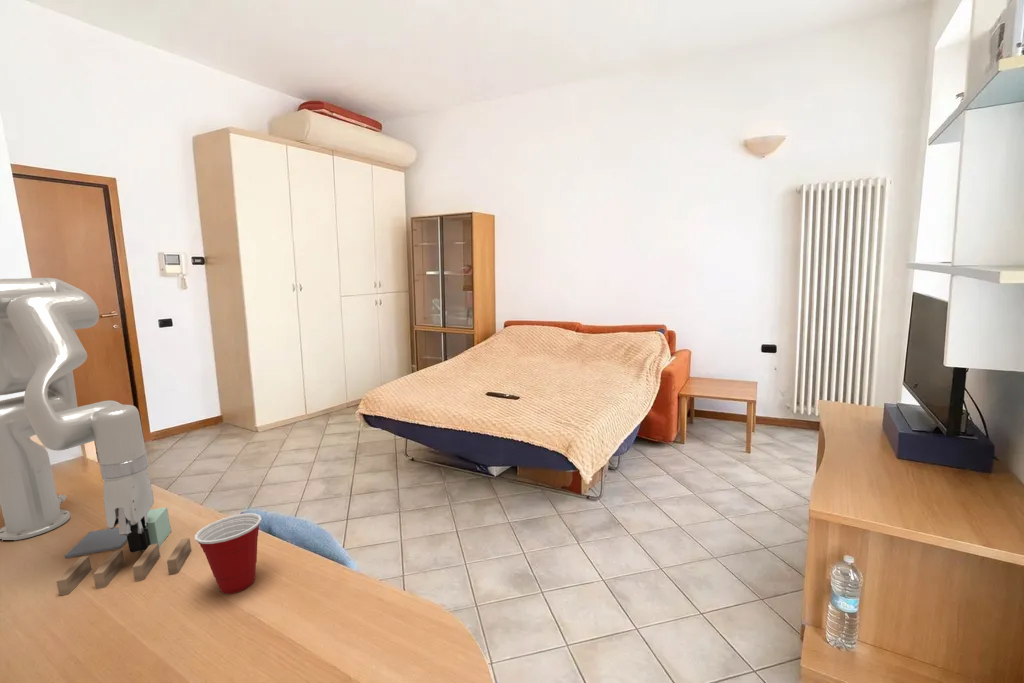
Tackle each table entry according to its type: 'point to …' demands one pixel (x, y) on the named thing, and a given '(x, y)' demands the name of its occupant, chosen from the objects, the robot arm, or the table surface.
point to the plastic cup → (231, 550)
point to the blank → (158, 525)
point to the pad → (98, 542)
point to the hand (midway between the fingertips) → (140, 549)
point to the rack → (117, 561)
